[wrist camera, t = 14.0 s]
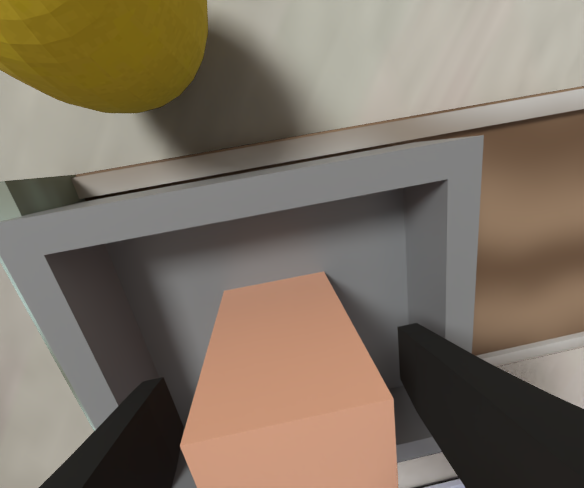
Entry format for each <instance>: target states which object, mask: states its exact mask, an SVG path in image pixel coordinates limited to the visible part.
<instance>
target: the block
mask: <svg viewBox="0 0 584 488" xmlns="http://www.w3.org/2000/svg"><path fill="white" fill-rule="evenodd" d="M180 448H181V450H182V452H183V455H184V457H185V460H186V462H187V465H188V467H189V469H190V472H191V474H192V477H193V479H194V481H195V484H196V486H197V488H398V473H397V454H396V436H395V417H394V399H393V397H392V395H391V393H390V391H389V389H388V388H387V386H386V384H385V382H384V380H383V378H382V377H381V375H380V373H379V371H378V369H377V368H376V366H375V364H374V362H373V360H372V358H371V357H370V355H369V353H368V351H367V349H366V347H365V346H364V344H363V342H362V340H361V338H360V337H359V335H358V333H357V331H356V329H355V327H354V326H353V324H352V322H351V320H350V318H349V316H348V315H347V313H346V311H345V309H344V307H343V305H342V304H341V302H340V300H339V298H338V296H337V295H336V293H335V291H334V289H333V287H332V285H331V284H330V282H329V280H328V278H327V276H326V274H325V273H324V272H318V273H313V274H308V275H303V276H298V277H293V278H288V279H282V280H277V281H272V282H267V283H262V284H257V285H252V286H246V287H241V288H236V289H231V290H226V291H224V293H223V296H222V300H221V303H220V307H219V310H218V314H217V317H216V321H215V324H214V328H213V331H212V335H211V338H210V342H209V345H208V349H207V352H206V356H205V359H204V363H203V366H202V370H201V373H200V377H199V380H198V384H197V387H196V391H195V394H194V398H193V401H192V405H191V408H190V412H189V415H188V419H187V422H186V426H185V430H184V433H183V437H182V440H181V444H180Z"/></svg>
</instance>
